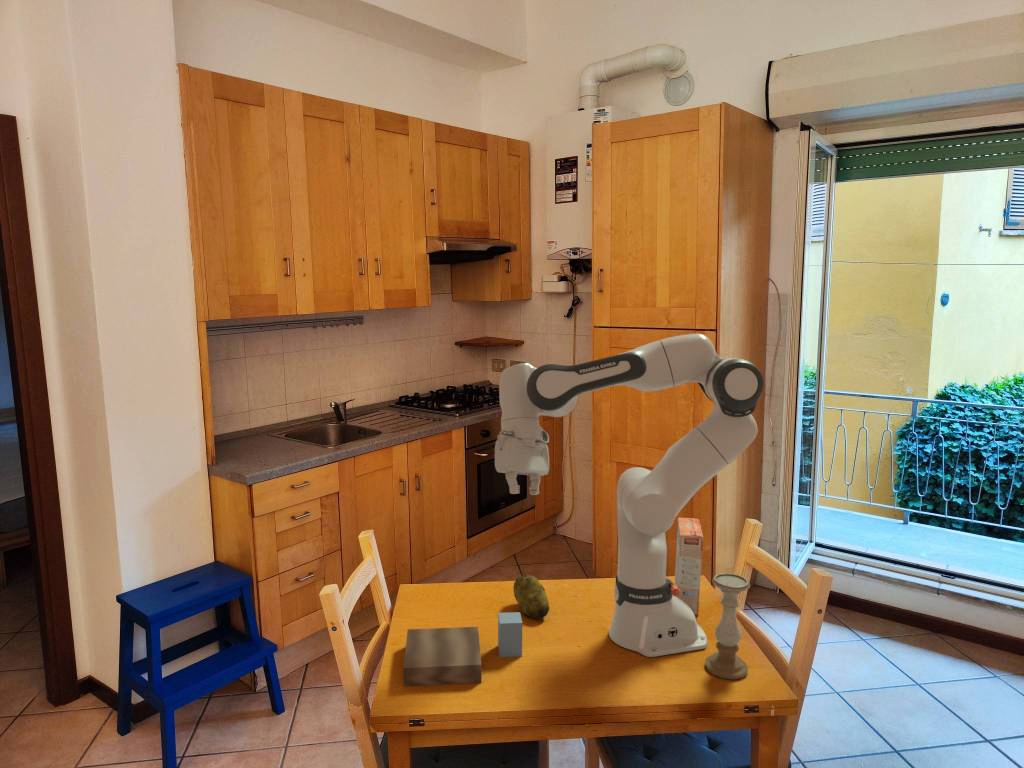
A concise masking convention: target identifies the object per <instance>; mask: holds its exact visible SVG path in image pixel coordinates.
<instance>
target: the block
mask: <svg viewBox="0 0 1024 768" xmlns="http://www.w3.org/2000/svg"><path fill="white" fill-rule="evenodd" d="M497 613H498V614H497V647H498V648H497V649H499V650H498V655H499V656H498V657H499V658H516V657H521V658H522V657H523V620H522V616H521V614H522V613H521V612H518V611H516V612H515V611H514V612H513V611H512V612H497Z"/></svg>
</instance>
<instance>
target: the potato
mask: <svg viewBox="0 0 1024 768" xmlns="http://www.w3.org/2000/svg"><path fill="white" fill-rule="evenodd" d="M539 581H540V580H539V579H538V578H537V577H536V576H534V575H532V574H529V573H526V574H522V575H520V576H518V577H516V578H515V581H514V584H513V588H512V590H513V596H514V598H515V600H516V602H517V604H518V607H519V609H520V611H521V612H522V614H524V615H526V616H527V617H528V618H534V619H539V620H540V619H543V618H545V617H546V616H547V615H548V613H549V611H550V605H549V600H548V596H547V593H546V589H545V587H544V585H543V584H542V583H540V582H539Z"/></svg>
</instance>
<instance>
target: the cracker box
mask: <svg viewBox="0 0 1024 768" xmlns="http://www.w3.org/2000/svg"><path fill="white" fill-rule="evenodd" d="M676 534H677V535H676V549H675V550H676V553H675V571H674V583H673V585H676V586H677V587H678V588H679V589H680V592H681V593H680V595H679V596H677V597H678V598H679V599H680V600H682V601H683V602H685V603H686V604H687V605H688V606H689V607H690V609H691V610H692V611H693V613H694V615H695V616H699V611H700V610H699V608H700V593H701V592H700V590H701V576H702V574H701V573H702V561H703V559H702V558H703V544H704V536H703V530H702V528H701V521H700V519H699V518H695V517H692V518H691V517H678V518H677V531H676Z"/></svg>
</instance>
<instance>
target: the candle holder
mask: <svg viewBox="0 0 1024 768" xmlns="http://www.w3.org/2000/svg"><path fill="white" fill-rule="evenodd" d="M711 580H712V584H713V586H715V587H716V588H718V589H720V591H721V593H722V594H723V598H722V599H720V604H721V605H722V611H721V613H722V614H721V618H720V620H719V622H718V623H717V625H716V627H715V630H714V634H715V635H714V636H715V638H716V641H717V642H716V644H715V648H716V649H717V651H716V652H714V653H712V654H711V655H709V656H707V657H706V659H705V662H704V664H705V668H706V670H707V671H708V672H709V673H710V674H712V675H714V676H715V675H716V676H715V677H717V676H718V678H720V677H721V678H722V679H724V678H725V679H724V680H740V679H742V677H743V678H745V677H746V675H747V674H748V665H747V663H746V662H745V660H742V658H741V657H740V656H738V655H737V653H738V652H739V650H740V648H739V647H740V646H739V645H738V644H739V643H740V641H741V640H742V631H741V629H740V626H739V624H738V621H737V607H739V606H740V602H739V601H738V599H737V598H738V596H739V595H740V594H741V593H742V592H745V591H748V590H749V589H750V587H751V583H750V581H749V579H748V578H747V577H745V576H743V575H740V574H736V573H733V572H732V573H729V572H720V573H716V574H714V575H713V578H712V579H711ZM721 678H720V679H721ZM739 678H740V679H739Z"/></svg>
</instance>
